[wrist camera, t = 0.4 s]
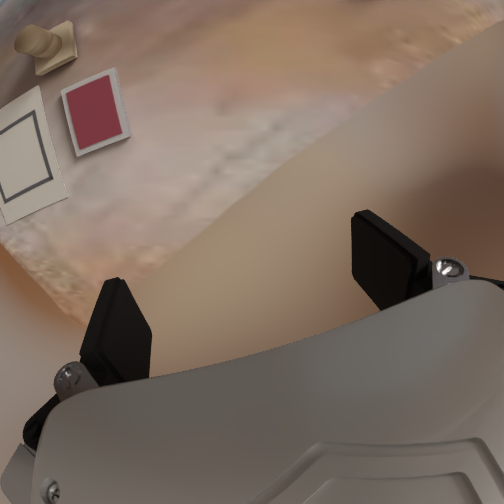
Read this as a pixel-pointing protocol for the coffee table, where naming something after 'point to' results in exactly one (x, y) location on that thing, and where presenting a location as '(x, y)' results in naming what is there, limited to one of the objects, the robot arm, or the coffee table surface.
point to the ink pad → (96, 112)
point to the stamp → (48, 46)
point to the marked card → (27, 159)
